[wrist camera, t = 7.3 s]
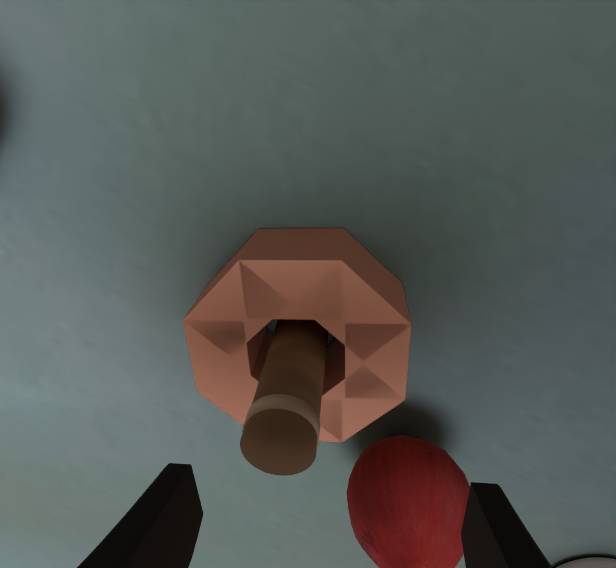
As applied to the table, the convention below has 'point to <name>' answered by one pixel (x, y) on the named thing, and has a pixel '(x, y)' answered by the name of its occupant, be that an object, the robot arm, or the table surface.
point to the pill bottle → (590, 563)
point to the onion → (408, 504)
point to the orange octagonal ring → (304, 306)
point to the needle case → (287, 400)
